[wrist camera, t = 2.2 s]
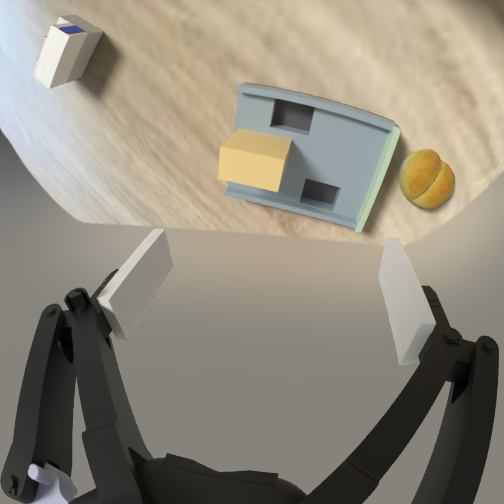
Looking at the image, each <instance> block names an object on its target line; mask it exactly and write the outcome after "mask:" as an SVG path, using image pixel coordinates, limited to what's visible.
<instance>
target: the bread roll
mask: <svg viewBox="0 0 504 504" xmlns="http://www.w3.org/2000/svg"><path fill="white" fill-rule="evenodd" d="M399 183H400V187H401V190H402V192H403V194H404V195H405V197H406V198H407V199H408V200H410V201H411V202H413V203H414V204H415V205H417V206H419V207H422V208H425V209H433V208H436V207H438V206H440V205H441V204H443V203H444V202H445V201H446V200H447V199H448V198H449V197H450V196H451V195H452V193H453V191H454V186H455V176H454V173H453V171H452V169H451V168H450V167H449V165H448V164H446V163H445V162H443V161H442V160H441V159H440V157H439V155H438V154H437V153H436V152H435V151H433V150H430V149H425V150H420V151H416V152H414V153H412V154H410V155H408V156H407V157H406V158H405V159H404V161H403V163H402V165H401V168H400V172H399Z"/></svg>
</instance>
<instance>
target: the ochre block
mask: <svg viewBox="0 0 504 504" xmlns="http://www.w3.org/2000/svg"><path fill="white" fill-rule="evenodd" d="M291 141H292V139H289V138H284V137H280V136H275V135H271V134H266V133H261V132H256V131H251V130H246V129H240V128H239V129H238V130H237V131H236V132H235V133H234V134H233V135H232V136H231V137H230V138H229V139H228V140H227V141H226V142H225V143H224V144H223V145H222V146H221V147H220V157H219V169H218V179H221V180H226V181H230V182H235V183H240V184H244V185H248V186H253V187H257V188H261V189H266V190H270V191H274V192H278V190H279V187H280V184H281V181H282V178H283V174H284V171H285V168H286V164H287V160H288V155H289V150H290V146H291Z"/></svg>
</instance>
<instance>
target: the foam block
mask: <svg viewBox="0 0 504 504" xmlns="http://www.w3.org/2000/svg"><path fill="white" fill-rule="evenodd" d="M103 32H104V31H102V30H100V29H99V28H97V27H95V26H94V25H92V24H90V23H88V22H87V21H85V20H83V19H81V18H80V17H78V16H76V15H69V16H60V17H59V19H58V21H57V23H56V25H52V26H51V28H50V31H49V33H48V36H45V37H44V40H43V43H42V45H41V48H40V51H39V54H38V57H37V59H36V60H37V61H38V63H37V66H36V69H35V72H34V77H35V78H36V79H38V80H39V81H40V82H41V83H43V84H44V85H45V86H46V87H47V88H49V89H51V88H53V87H56V86H59V85H61V84H64V83H67V82H70V81H73V80H76V79H79V78H81V77H82V75H83V73H84V70H85V68H86V66H87V64H88V62H89V60H90V57H91V55H92V53H93V51H94V49H95V47H96V45H97V43H98V41H99V39H100V37H101V36H102V34H103ZM87 34H88V35H87ZM86 36H87V37H86ZM85 38H86V39H85ZM78 53H79V54H78ZM75 60H76V61H75Z"/></svg>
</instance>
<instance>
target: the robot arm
mask: <svg viewBox="0 0 504 504" xmlns="http://www.w3.org/2000/svg"><path fill="white" fill-rule="evenodd" d="M172 267H173V262H172V259H171V254H170V251H169V246H168V241H167V237H166V232H165V229H154V230H153V231H152V232H151V233H150V234H149V235H148V236H147V238H146V239H145V240H144V241H143V242H142V243H141V244H140V246H139V247H138V248H137V249H136V250H135V252H133V254H132V255H131V256H130V257H129V258H128V260H127V261H126V262H125V263H124V265H123V266H122V267H121V268H120V269H116V270H115V271H113V272H112V273H111V274H110V275H109V276H108V277H107V278H106V279H105V281H104V282H103V283H102V284H101V286H100V287H99V288H98V289H97V291H96V292H95V293H94V294H93V295H92V297H91V298H89V295H88V293H87V291H86V289H84V288H76V289H73V290H72V291H70V292H69V293H68V294H67V295H66V297H65V299H64V301H65V303H66V305H67V306H68V308H69V310H66V311H63V310H62V309H61V307H60V305H59V304H52V305H49V306H47V307H46V308H45V309H44V310H43V312H42V314H41V317H40V320H39V323H38V326H37V329H36V332H35V336H34V339H33V342H32V346H31V349H30V353H29V357H28V361H27V364H26V369H25V373H24V377H23V381H22V386H21V391H20V397H19V402H18V407H17V414H16V421H15V428H14V437H13V442H12V445H11V448H10V451H9V453H8V456H7V459H6V462H5V465H4V468H3V471H2V475H1V480H0V481H1V487H2V489H3V491H4V493H5V494H6V495H7V496H8V497H10V498H12V499H14V500H17V501H19V502H21V503H24V504H362V503H363V502H364V501H365V500H366V499H367V498H368V497H369V496H370V495H371V493H372V492H373V491H374V490H375V489H376V487H377V486H378V484H379V481H380V479H381V478H382V477H383V475H384V474H385V473H386V472H387V471H388V469H389V468H390V467H391V466H392V464H393V463H394V462H395V461H396V459H397V458H398V457H399V455H400V454H401V453H402V451H403V450H404V448H405V447H406V446H407V444H408V443H409V441H410V440H411V438H412V437H413V435H414V434H415V432H416V431H417V429H418V428H419V426H420V425H421V423H422V422H423V420H424V418H425V417H426V415H427V413H428V412H429V410H430V408H431V406H432V405H433V403H434V401H435V400H436V398H437V396H438V394H439V392H440V391H441V389H442V387H443V385H444V383H445V381H449V382H451V387H450V392H449V396H448V401H447V405H446V409H445V413H444V417H443V421H442V424H441V428H440V431H439V434H438V438H437V441H436V444H435V447H434V450H433V453H432V455H431V458H430V461H429V464H428V466H427V469H426V471H425V474H424V476H423V479H422V481H421V483H420V486H419V488H418V490H417V493H416V495H415V497H414V499H413V501H412V503H411V504H473V502H474V499H475V497H476V494H477V491H478V487H479V484H480V481H481V477H482V474H483V470H484V467H485V463H486V459H487V454H488V450H489V445H490V440H491V435H492V429H493V422H494V416H495V408H496V399H497V388H498V369H499V349H498V345H497V343H496V342H495V341H494V340H493V339H492V338H490V337H489V336H481V337H480V338H479V339H478V340H477V341H476V342H471V341H467V340H464V339H462V336H461V334H460V333H459V332H458V331H457V330H456V329H454V328H451V327H450V325H449V322H448V320H447V317H446V315H445V313H444V311H443V308H442V307H441V304H440V301H439V299H438V297H437V294H436V292H435V291H434V290H433V289H432V288H431V287H430V286H421V285H420V282H419V280H418V278H417V276H416V274H415V271H414V269H413V267H412V265H411V262H410V261H409V258H408V256H407V254H406V252H405V250H404V248H403V246H402V244H401V242H400V240H399V238H386V243H385V248H384V253H383V257H382V261H381V266H380V270H379V274H378V278H379V282H380V285H381V289H382V293H383V297H384V300H385V304H386V308H387V312H388V315H389V320H390V324H391V328H392V332H393V336H394V341H395V346H396V350H397V355H398V360H399V365H410V364H414V363H415V362H416V360H417V358H418V356H419V360H420V364H419V366H418V368H417V369H416V371H415V372H414V374H413V375H412V377H411V379H410V380H409V381H408V383H407V384H406V386H405V387H404V389H403V390H402V392H401V393H400V394H399V396H398V397H397V399H396V400H395V401H394V403H393V404H392V405H391V407H390V408H389V410H388V411H387V412H386V413H385V415H384V416H383V417H382V418H381V420H380V421H379V422H378V423H377V425H376V426H375V427H374V428H373V430H372V431H371V432H370V433H369V434H368V435H367V437H366V438H365V439H364V440H363V441H362V442H361V444H360V445H359V446H358V447H357V448H356V449H355V450H354V451H353V452H352V453H351V455H349V456H348V458H347V459H346V460H345V461H344V462H343V463H342V464H341V465H340V466H339V467H338V468H337V469H336V470H335V471H334V472H333V473H332V474H331V475H329V476H328V477H327V478H326V479H325V480H324V481H323V482H322V483H321V484H320V485H319V486H318V487H316V488H315V489H314V490H313V491H312V492H311V493H310V494H309V495H306V494H305V493H304V492H303V491H302V490H301V489H299V488H298V487H297V486H295V485H294V484H292V483H290V482H288V481H286V480H284V479H280V478H278V473H267V472H258V471H250V470H248V471H234V472H217V471H215V470H213V469H210V468H208V467H206V466H204V465H202V464H200V463H198V462H196V461H194V460H191V459H187V458H183V457H180V456H176V455H172V454H169V453H167V455H166V457H165V458H156V459H153V457H152V456H151V454H150V452H149V451H148V450H147V448H146V446H145V445H144V442H143V439H142V437H141V434H140V432H139V430H138V426H137V424H136V421H135V419H134V416H133V413H132V410H131V407H130V404H129V401H128V398H127V395H126V392H125V389H124V385H123V382H122V379H121V375H120V372H119V368H118V364H117V361H116V357H115V354H114V349H113V345H112V341H111V338H110V336H109V334H110V333H111V331H113V333H114V334H115V337H116V338H119V339H123V340H128V339H129V338H130V336H131V334H132V332H133V331H134V329H135V327H136V326H137V324H138V322H139V320H140V319H141V317H142V316H143V314H144V312H145V311H146V309H147V307H148V306H149V304H150V302H151V301H152V299H153V297H154V296H155V294H156V292H157V291H158V289H159V288H160V286H161V284H162V283H163V281H164V280H165V278H166V276H167V275H168V273H169V272H170V270H171V269H172ZM76 377H77V383H78V389H79V396H80V401H81V406H82V412H83V416H84V421H85V425H86V431H84V432H82V440H83V444H84V448H85V452H86V456H87V459H88V463H89V466H90V469H91V473H92V476H93V479H94V482H95V485H96V488H95V489H93V490H92V491H90V492H87V493H86V494H83V495H82V496H79V497H78V498H75V497H74V496H75V495H76V494H77V488H76V486H75V485H73V482H72V480H71V478H70V477H71V470H72V428H73V407H74V393H75V383H76ZM277 479H278V480H277ZM276 485H277V486H276Z"/></svg>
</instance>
